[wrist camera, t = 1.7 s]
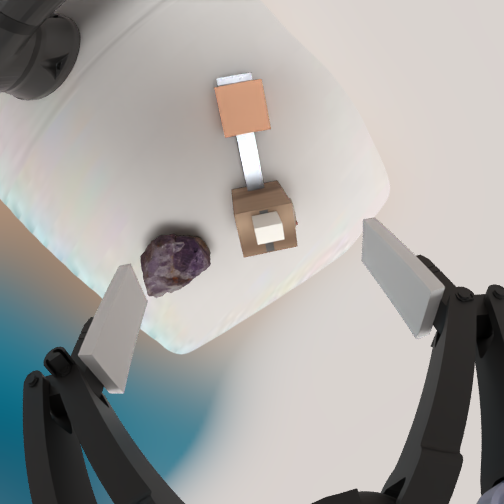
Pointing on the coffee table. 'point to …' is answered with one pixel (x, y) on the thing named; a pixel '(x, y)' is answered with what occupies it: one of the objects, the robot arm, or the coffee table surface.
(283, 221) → the cabinet
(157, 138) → the coffee table surface
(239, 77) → the rail
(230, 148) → the coffee table surface
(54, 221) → the coffee table surface
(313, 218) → the coffee table surface
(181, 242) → the rock
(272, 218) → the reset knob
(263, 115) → the block
